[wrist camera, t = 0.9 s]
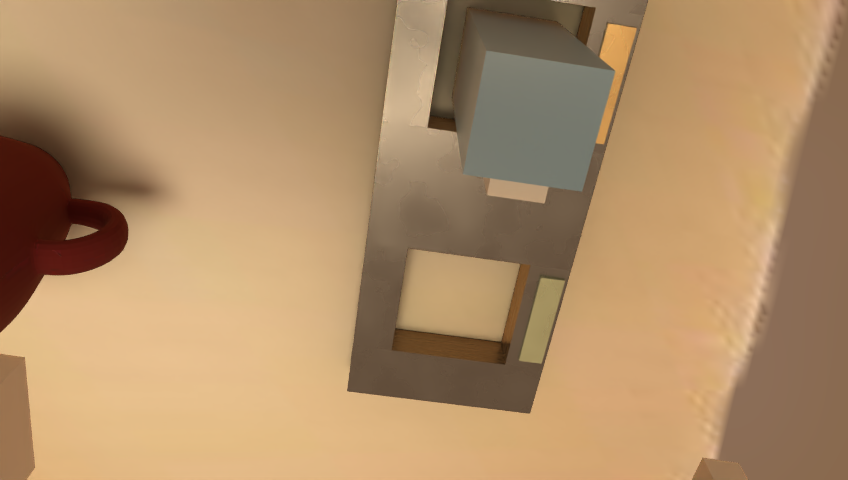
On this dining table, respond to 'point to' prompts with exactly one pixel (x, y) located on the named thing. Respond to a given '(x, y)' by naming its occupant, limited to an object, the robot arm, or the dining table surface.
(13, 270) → the mug
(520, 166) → the plug
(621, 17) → the panel
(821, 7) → the dining table surface
